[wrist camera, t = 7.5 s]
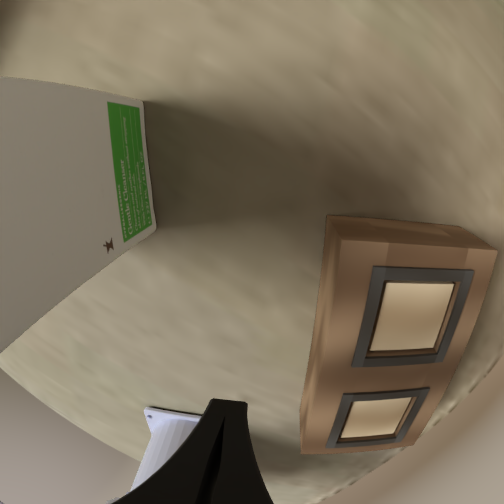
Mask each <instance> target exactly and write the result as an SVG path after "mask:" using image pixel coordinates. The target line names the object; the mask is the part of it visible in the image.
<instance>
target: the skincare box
mask: <svg viewBox="0 0 504 504" xmlns="http://www.w3.org/2000/svg"><path fill="white" fill-rule="evenodd" d="M155 231H156V220H155V213H154V208H153V199H152V188H151V181H150V173H149V165H148V156H147V147H146V136H145V123H144V106H143V102H142V101H141V100H138V99H133V98H129V97H125V96H121V95H116V94H112V93H107V92H103V91H98V90H93V89H88V88H83V87H77V86H72V85H65V84H59V83H53V82H46V81H39V80H32V79H23V78H14V77H3V76H0V353H1V352H2V351H3V350H5V349H6V348H7V347H8V346H9V345H10V344H11V343H12V342H14V341H15V340H16V339H17V338H18V337H20V336H21V335H22V334H23V333H24V332H25V331H26V330H27V329H29V328H30V327H31V326H32V325H33V324H34V323H36V322H37V321H38V320H39V319H40V318H42V317H43V316H44V315H45V314H46V313H47V312H49V311H50V310H51V309H52V308H54V307H55V306H56V305H57V304H59V303H60V302H61V301H62V300H63V299H65V298H66V297H67V296H68V295H70V294H71V293H72V292H73V291H75V290H76V289H77V288H78V287H80V286H81V285H82V284H84V283H85V282H86V281H88V280H89V279H90V278H92V277H93V276H94V275H96V274H97V273H98V272H100V271H101V270H102V269H103V268H105V267H106V266H107V265H109V264H110V263H112V262H113V261H114V260H115V259H117V258H118V257H119V256H121V255H122V254H124V253H125V252H126V251H128V250H129V249H131V248H132V247H133V246H135V245H136V244H138V243H139V242H140V241H142V240H143V239H144V238H146V237H147V236H149V235H150V234H152V233H153V232H155Z"/></svg>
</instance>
